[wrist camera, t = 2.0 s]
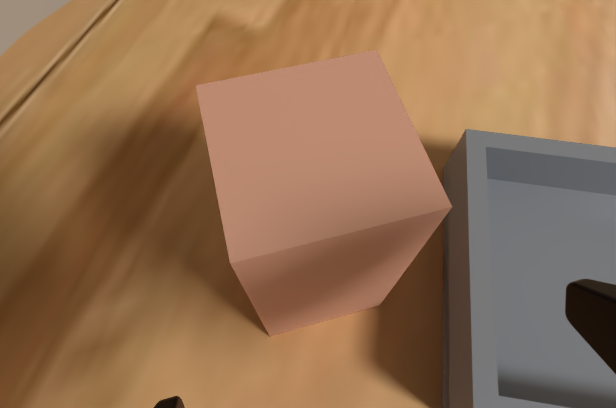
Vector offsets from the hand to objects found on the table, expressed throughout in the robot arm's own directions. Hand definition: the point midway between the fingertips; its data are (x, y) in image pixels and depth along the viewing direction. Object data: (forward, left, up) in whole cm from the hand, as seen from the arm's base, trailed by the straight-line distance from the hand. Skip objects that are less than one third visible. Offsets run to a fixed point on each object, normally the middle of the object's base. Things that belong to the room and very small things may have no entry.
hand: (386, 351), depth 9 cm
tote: (-9, -10, -12) cm, 18 cm away
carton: (+4, -4, -12) cm, 14 cm away
